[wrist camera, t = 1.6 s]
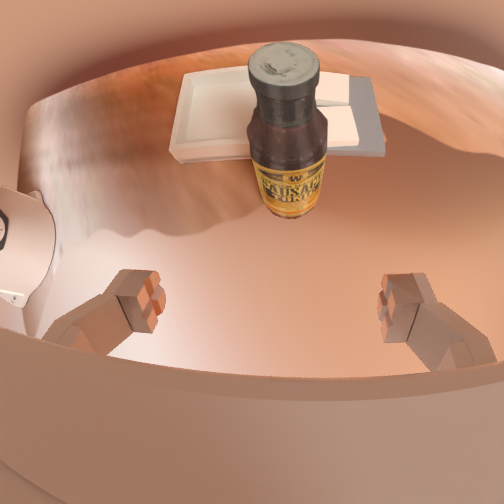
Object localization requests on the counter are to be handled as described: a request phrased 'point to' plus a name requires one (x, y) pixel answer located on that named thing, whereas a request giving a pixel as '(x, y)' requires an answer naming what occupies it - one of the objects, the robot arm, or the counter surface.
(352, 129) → the tile
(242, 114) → the bin
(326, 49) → the counter surface
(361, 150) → the slate board
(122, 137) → the counter surface
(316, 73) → the sauce bottle
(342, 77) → the tile
